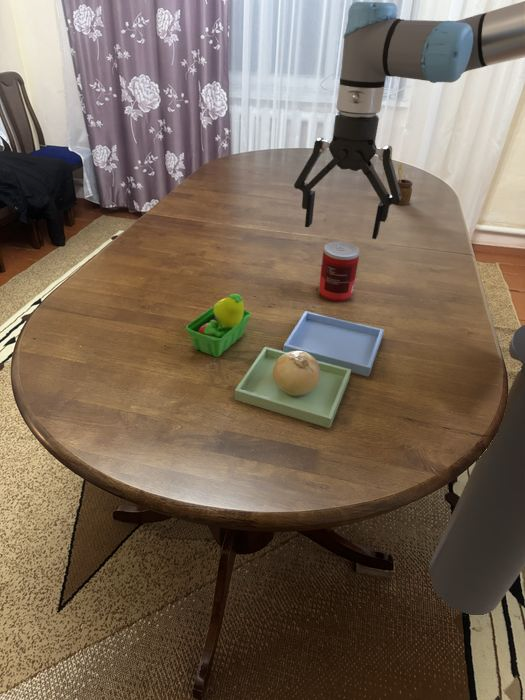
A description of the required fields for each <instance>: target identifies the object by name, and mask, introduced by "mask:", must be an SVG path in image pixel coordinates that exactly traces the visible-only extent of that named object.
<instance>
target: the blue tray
mask: <svg viewBox="0 0 525 700" xmlns="http://www.w3.org/2000/svg"><path fill="white" fill-rule="evenodd" d="M384 331H385V329H384V328H379V327H375V326H371V325H366V324H361V323H358V322H353V321H349V320H346V319H340V318H337V317H336V318H335V317H331V316H327V315H322V314H319V313H316V312H315V313H314V312H311V311H306V310H305V311H304V312H303V314H302V316H301V317H300V318H299V321H298V322H297V323H296V325H295V327H294V328H293V330H292V331H291V333H290V334H289V336H288V338H287V339H286V341H285V342H284V344H283V347H282V351H283V352H287V353H289V352H292V351H303V352H307V353H308V354H310V355H311V356H312V357H314V358H315V359H316V360H317V361H321V362H325V363H329V364H332V365H336V366H340V367H344V368H347V369H351V373H352V374H355V375H360V376H363V377H367V378H369V377H370V374H371V371H372V368H373V366H374V361H375V360H376V357H377V354H378V350H379V347H380V345H381V343H382V340H383V336H384Z"/></svg>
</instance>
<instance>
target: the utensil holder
mask: <svg viewBox="0 0 525 700" xmlns="http://www.w3.org/2000/svg"><path fill="white" fill-rule="evenodd" d="M397 166H398V168H397V169H398V170H397V173H398V175H399V176H398V177H399V178H398V179H397V181H398V185H399V188H400V192H401V196H402V197H401V200H400V202H399V203H398V204H397V205H400V206H407V205H409V203H410V202H411V197H412V193H413V188H412V187H413V180H414V177H415V173H416V172H415V171H414V170H409V171H408V172H407V174H408V175H411V176H410V177H412V178H411V179H410V178H409V177H408V175H406V177H405V179H402V176H401V175H402V173H403V170H402V169H403V167H402V166H403V163H398V165H397ZM411 172H412V174H411Z"/></svg>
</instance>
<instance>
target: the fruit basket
mask: <svg viewBox="0 0 525 700" xmlns="http://www.w3.org/2000/svg"><path fill="white" fill-rule="evenodd" d="M251 315H252V314H251V312H250V311H249V310H244V302H243V297H242V296H241V295H240V294H238V293H231V294H229V295H228V297H225V298H222V299H220V300H218V301H217V302H216V303H215V304H214V305H213V306H212V307H211V308H209V309H208V310H206V311H205V312H203V313H202V314H200V315H199V316H198V317H197V318H195V319H193V320H192V321H191V322H190V323H189V324H187V325H186V326H185V329H186V331H187V333H188V335H189V336H190V340H191V342H192V344H193V346H194V349H195V350H197V351H201V352H202V353H205V354H207V355H209V356H213V357H215V358H218V357H220V356H221V355H222V354H223V352H225V351H227V350H228V349H229V348H230V346H232V345H233V344H235V343H236V342H237V340H239V339H241V337H242V336H243V335H244V332H245V329H246V327H247V323H248V322H249V319H250V317H251Z"/></svg>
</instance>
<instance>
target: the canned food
mask: <svg viewBox="0 0 525 700" xmlns="http://www.w3.org/2000/svg"><path fill="white" fill-rule="evenodd" d="M359 258H360V249H359V247H357V246H356V245H354V244H352V243H349V242H345V241H332V242H328V243H326V244H325V245H324V247H323V251H322V259H321V267H320V268H321V269H320V277H319V285H318V291H319V295H320V296H321V297H322V298H323V299H325V300H327V301H330V302H335V303H341V302H346V301H348V300H350V299H351V298H352V296H353V293H354V288H355V281H356V276H357V271H358V270H357V269H358V265H359V260H360V259H359Z"/></svg>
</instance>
